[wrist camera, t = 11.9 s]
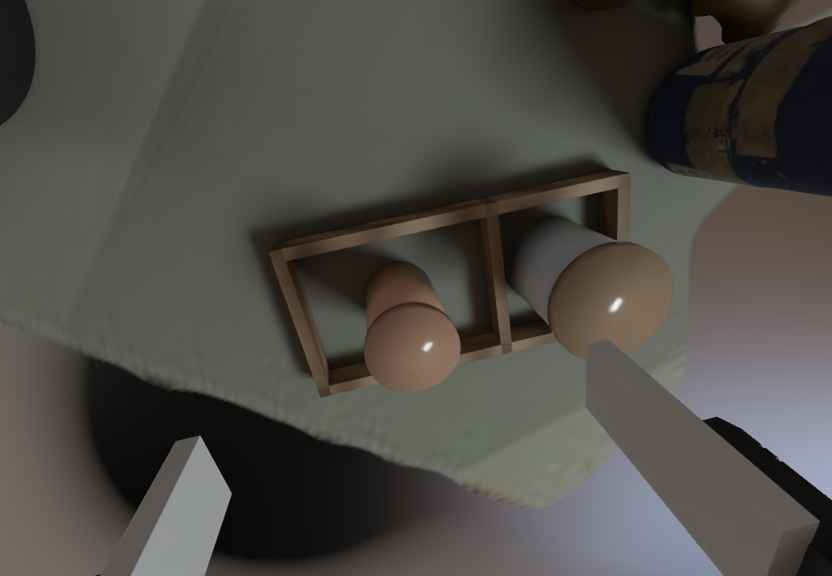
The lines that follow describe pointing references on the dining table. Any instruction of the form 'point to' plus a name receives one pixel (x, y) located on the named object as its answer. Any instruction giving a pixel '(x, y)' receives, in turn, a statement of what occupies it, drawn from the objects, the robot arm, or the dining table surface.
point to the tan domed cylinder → (407, 330)
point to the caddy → (487, 211)
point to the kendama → (726, 14)
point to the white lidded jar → (590, 285)
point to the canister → (751, 112)
